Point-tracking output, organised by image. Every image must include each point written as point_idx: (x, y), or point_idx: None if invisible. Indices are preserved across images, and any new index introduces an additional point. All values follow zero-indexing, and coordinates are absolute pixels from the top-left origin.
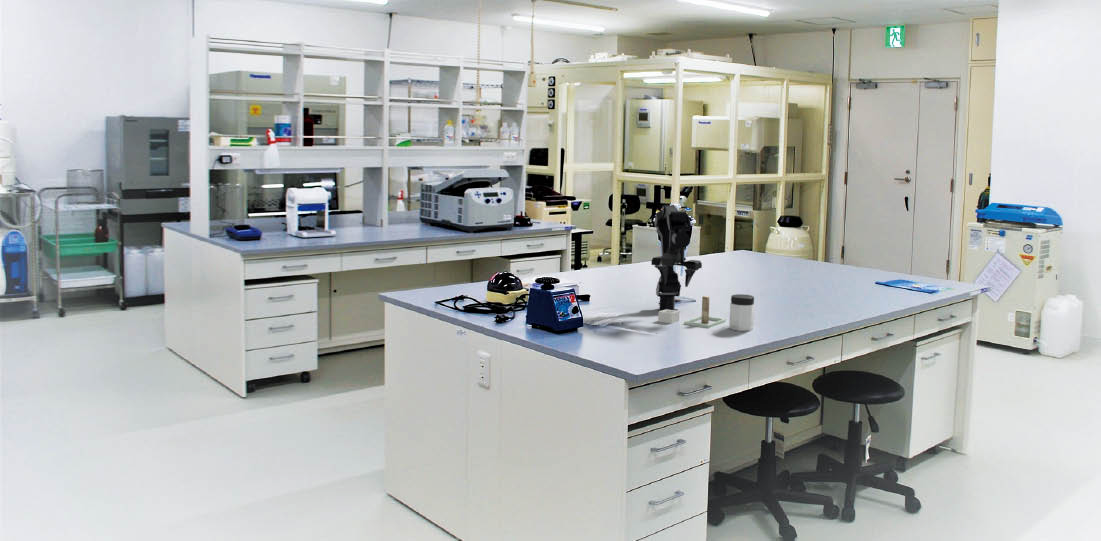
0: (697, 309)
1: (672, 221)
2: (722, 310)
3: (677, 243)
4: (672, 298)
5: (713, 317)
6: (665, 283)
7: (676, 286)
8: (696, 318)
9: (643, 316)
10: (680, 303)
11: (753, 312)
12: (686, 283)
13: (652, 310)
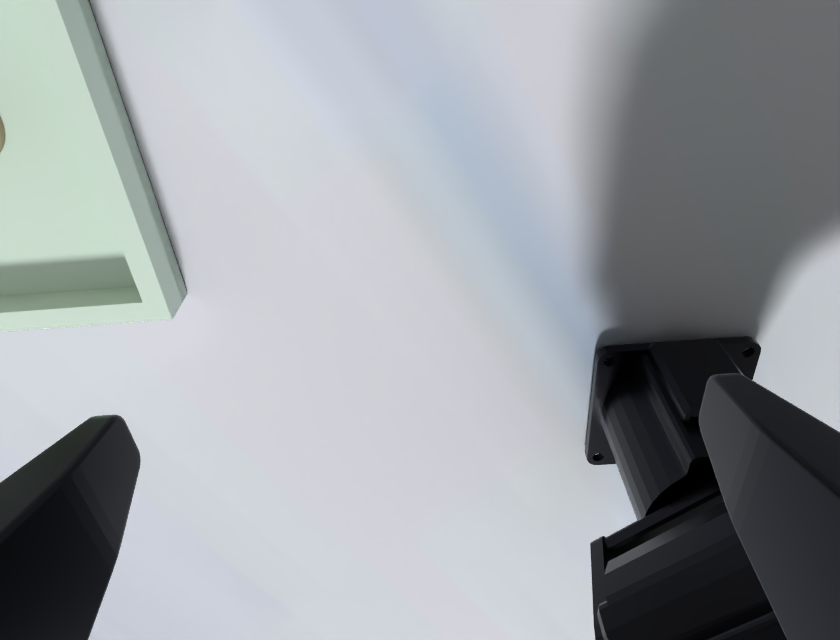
0: (489, 562)
1: None
2: (342, 619)
3: None
4: (643, 490)
5: (31, 321)
6: (708, 412)
7: (625, 615)
8: (89, 160)
9: (797, 8)
10: None
11: None
12: (23, 469)
13: (798, 342)
